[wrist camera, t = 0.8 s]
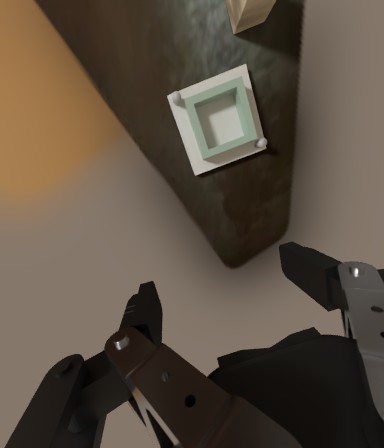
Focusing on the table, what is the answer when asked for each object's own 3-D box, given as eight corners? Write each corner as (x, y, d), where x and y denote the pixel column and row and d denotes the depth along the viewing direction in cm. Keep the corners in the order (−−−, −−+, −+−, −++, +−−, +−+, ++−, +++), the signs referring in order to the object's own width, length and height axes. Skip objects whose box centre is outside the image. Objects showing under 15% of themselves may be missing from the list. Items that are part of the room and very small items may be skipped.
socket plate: (167, 98, 30) (165, 89, 26) (243, 67, 29) (251, 53, 26) (194, 175, 33) (196, 176, 30) (264, 149, 32) (273, 146, 29)
